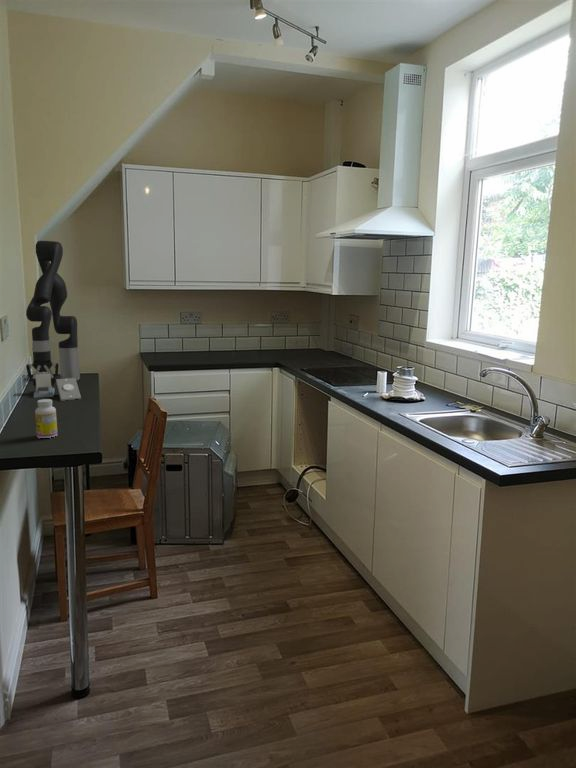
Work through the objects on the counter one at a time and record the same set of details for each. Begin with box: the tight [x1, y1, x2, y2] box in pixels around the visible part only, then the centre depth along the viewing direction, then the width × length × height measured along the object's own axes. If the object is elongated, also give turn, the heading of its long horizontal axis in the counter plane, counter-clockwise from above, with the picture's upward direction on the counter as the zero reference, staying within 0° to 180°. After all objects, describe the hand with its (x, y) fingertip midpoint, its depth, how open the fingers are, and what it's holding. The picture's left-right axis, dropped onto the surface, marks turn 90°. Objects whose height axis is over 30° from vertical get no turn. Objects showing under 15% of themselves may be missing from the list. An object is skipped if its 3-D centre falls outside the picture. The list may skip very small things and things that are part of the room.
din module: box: [35, 372, 53, 390], centre depth 273 cm, size 5×6×7 cm
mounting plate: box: [33, 387, 56, 399], centre depth 274 cm, size 14×8×2 cm, turn 18°
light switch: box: [55, 378, 82, 402], centre depth 268 cm, size 8×6×14 cm
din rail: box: [38, 387, 50, 394], centre depth 274 cm, size 14×4×3 cm, turn 18°
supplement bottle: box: [34, 398, 58, 439], centre depth 203 cm, size 7×7×13 cm
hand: (44, 386), depth 274 cm, fingers closed on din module, 6 cm apart
